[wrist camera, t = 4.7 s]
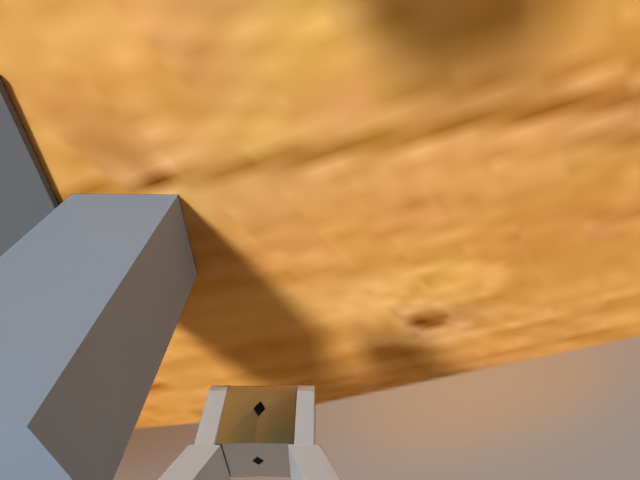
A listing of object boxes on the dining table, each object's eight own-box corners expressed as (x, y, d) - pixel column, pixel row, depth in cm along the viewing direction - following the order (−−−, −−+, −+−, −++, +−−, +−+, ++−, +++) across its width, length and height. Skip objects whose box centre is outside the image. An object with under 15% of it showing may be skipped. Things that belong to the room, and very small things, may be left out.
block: (178, 194, 16) (26, 426, 8) (197, 274, 18) (99, 511, 10) (72, 194, 16) (-193, 425, 8) (106, 274, 18) (-64, 511, 10)
